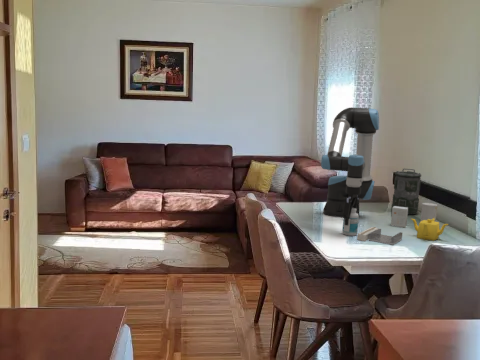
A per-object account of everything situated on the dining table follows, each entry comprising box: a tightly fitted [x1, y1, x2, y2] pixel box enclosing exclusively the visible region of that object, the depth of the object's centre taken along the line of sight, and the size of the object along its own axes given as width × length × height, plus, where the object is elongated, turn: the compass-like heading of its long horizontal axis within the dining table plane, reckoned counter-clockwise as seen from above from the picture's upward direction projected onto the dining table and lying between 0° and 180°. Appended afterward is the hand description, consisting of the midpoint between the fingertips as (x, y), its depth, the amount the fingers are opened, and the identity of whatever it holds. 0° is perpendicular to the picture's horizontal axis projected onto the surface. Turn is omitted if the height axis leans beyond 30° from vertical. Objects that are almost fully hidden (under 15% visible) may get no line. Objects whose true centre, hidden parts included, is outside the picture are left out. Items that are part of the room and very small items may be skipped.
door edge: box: [356, 226, 380, 242], centre depth 271 cm, size 4×20×3 cm, turn 147°
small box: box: [390, 206, 409, 228], centre depth 301 cm, size 8×6×10 cm
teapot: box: [411, 218, 449, 242], centre depth 276 cm, size 15×14×10 cm
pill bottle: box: [341, 208, 360, 237], centre depth 273 cm, size 8×7×14 cm
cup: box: [420, 202, 438, 222], centre depth 308 cm, size 8×8×12 cm
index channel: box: [368, 228, 403, 246], centre depth 266 cm, size 12×14×4 cm
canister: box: [391, 167, 422, 215], centre depth 341 cm, size 16×16×28 cm
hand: (349, 229), depth 274 cm, fingers open, 9 cm apart
